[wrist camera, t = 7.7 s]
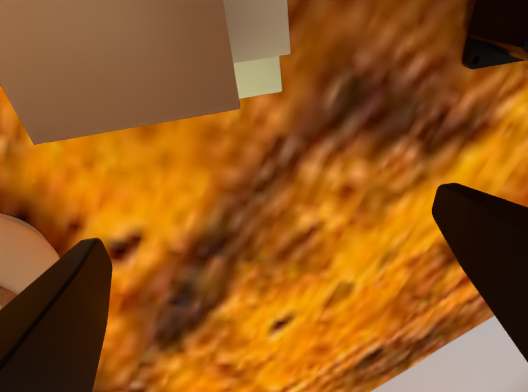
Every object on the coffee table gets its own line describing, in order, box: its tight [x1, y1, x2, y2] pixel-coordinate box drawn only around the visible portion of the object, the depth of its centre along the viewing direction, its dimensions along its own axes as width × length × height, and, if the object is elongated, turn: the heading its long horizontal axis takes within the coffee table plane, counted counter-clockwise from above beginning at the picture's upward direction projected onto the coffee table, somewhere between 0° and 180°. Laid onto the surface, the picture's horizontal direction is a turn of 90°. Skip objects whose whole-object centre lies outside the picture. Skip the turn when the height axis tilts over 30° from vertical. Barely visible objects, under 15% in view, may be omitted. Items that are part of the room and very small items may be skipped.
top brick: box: [0, 0, 241, 145], centre depth 9 cm, size 5×5×5 cm
